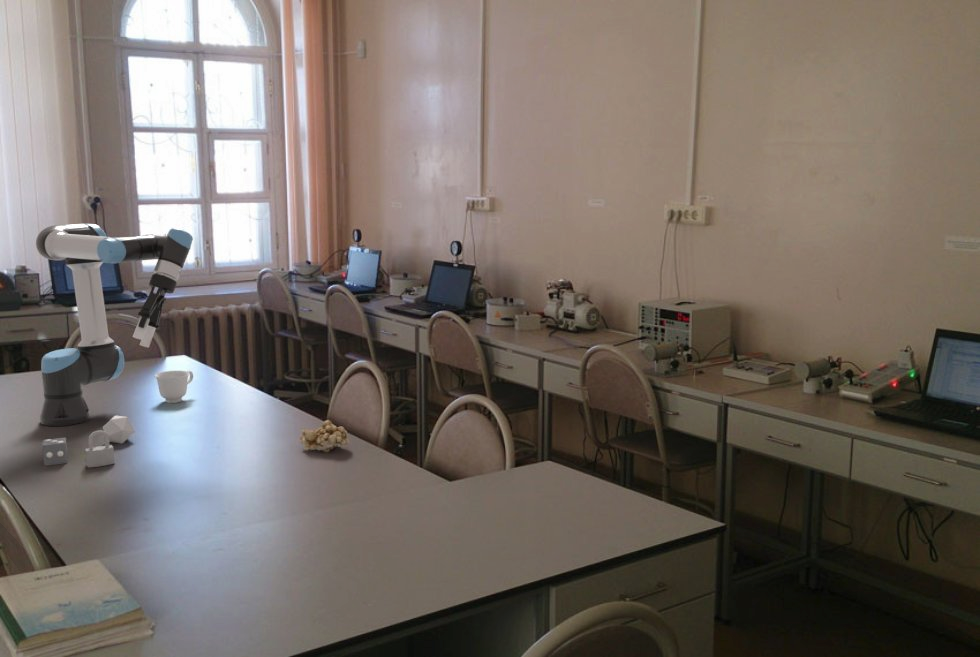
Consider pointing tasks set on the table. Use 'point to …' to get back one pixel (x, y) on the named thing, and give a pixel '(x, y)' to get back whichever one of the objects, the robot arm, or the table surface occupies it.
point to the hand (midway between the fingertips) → (140, 342)
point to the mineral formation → (324, 437)
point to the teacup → (173, 384)
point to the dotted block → (54, 451)
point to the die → (118, 429)
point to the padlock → (99, 452)
